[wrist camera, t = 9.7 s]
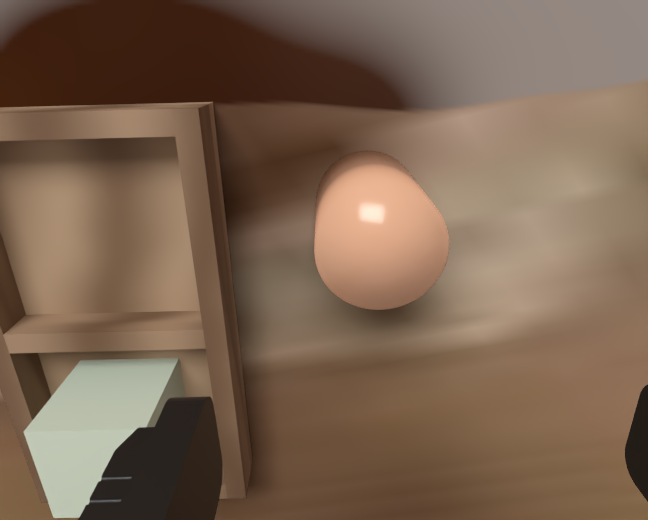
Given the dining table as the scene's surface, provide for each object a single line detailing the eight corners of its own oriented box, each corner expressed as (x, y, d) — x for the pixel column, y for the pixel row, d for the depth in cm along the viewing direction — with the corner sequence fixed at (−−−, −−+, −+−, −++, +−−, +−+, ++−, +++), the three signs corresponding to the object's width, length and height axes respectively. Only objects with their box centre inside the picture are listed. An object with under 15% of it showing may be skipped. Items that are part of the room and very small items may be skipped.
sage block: (179, 357, 24) (145, 429, 19) (191, 434, 26) (164, 515, 21) (80, 360, 24) (23, 431, 19) (100, 436, 26) (53, 518, 21)
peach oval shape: (419, 149, 21) (454, 183, 15) (413, 247, 23) (443, 308, 17) (314, 152, 21) (311, 186, 15) (317, 249, 23) (316, 311, 17)
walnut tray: (212, 102, 20) (198, 108, 18) (252, 460, 28) (246, 498, 25) (-48, 108, 20) (-99, 115, 18) (65, 464, 28) (41, 502, 25)
